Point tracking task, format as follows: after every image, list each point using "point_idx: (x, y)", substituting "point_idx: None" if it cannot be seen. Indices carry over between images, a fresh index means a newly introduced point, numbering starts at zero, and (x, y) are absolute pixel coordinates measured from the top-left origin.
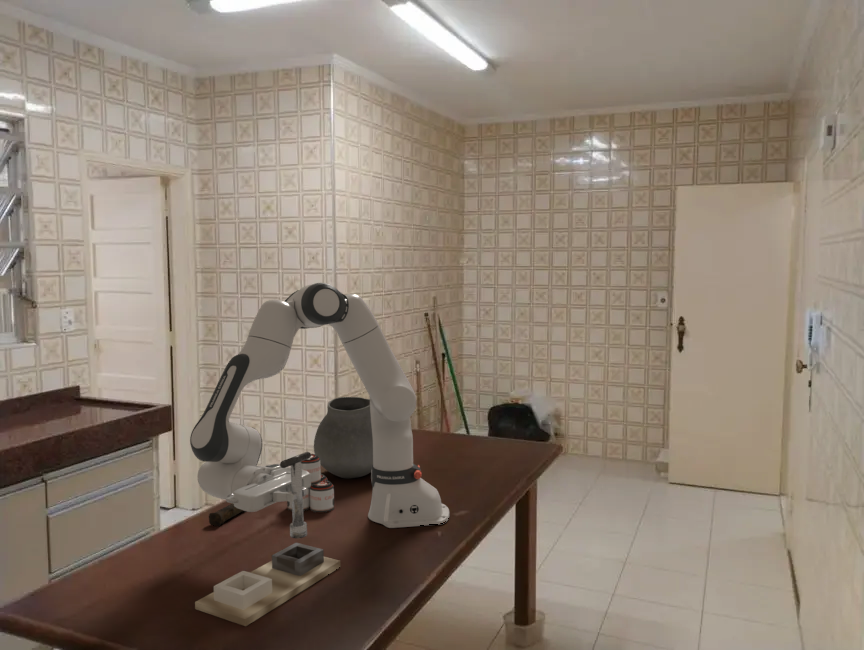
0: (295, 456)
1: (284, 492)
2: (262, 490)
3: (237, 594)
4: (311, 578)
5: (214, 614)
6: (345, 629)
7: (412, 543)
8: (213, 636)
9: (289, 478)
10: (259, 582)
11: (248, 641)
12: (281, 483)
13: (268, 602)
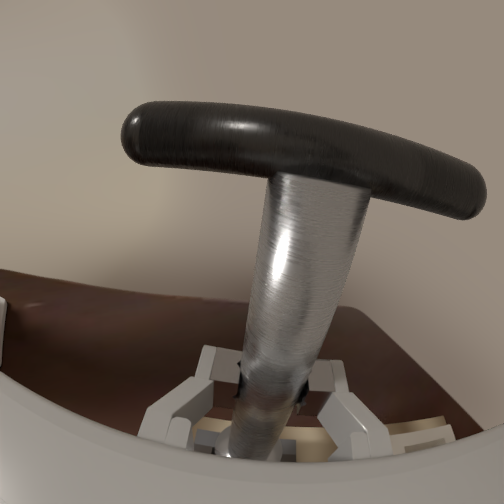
0: (336, 120)
1: (348, 405)
2: (462, 470)
3: (453, 435)
4: (285, 426)
5: None
6: (354, 329)
7: (63, 330)
8: (470, 430)
9: (114, 481)
10: (411, 442)
11: (446, 393)
12: (276, 484)
13: (398, 428)
